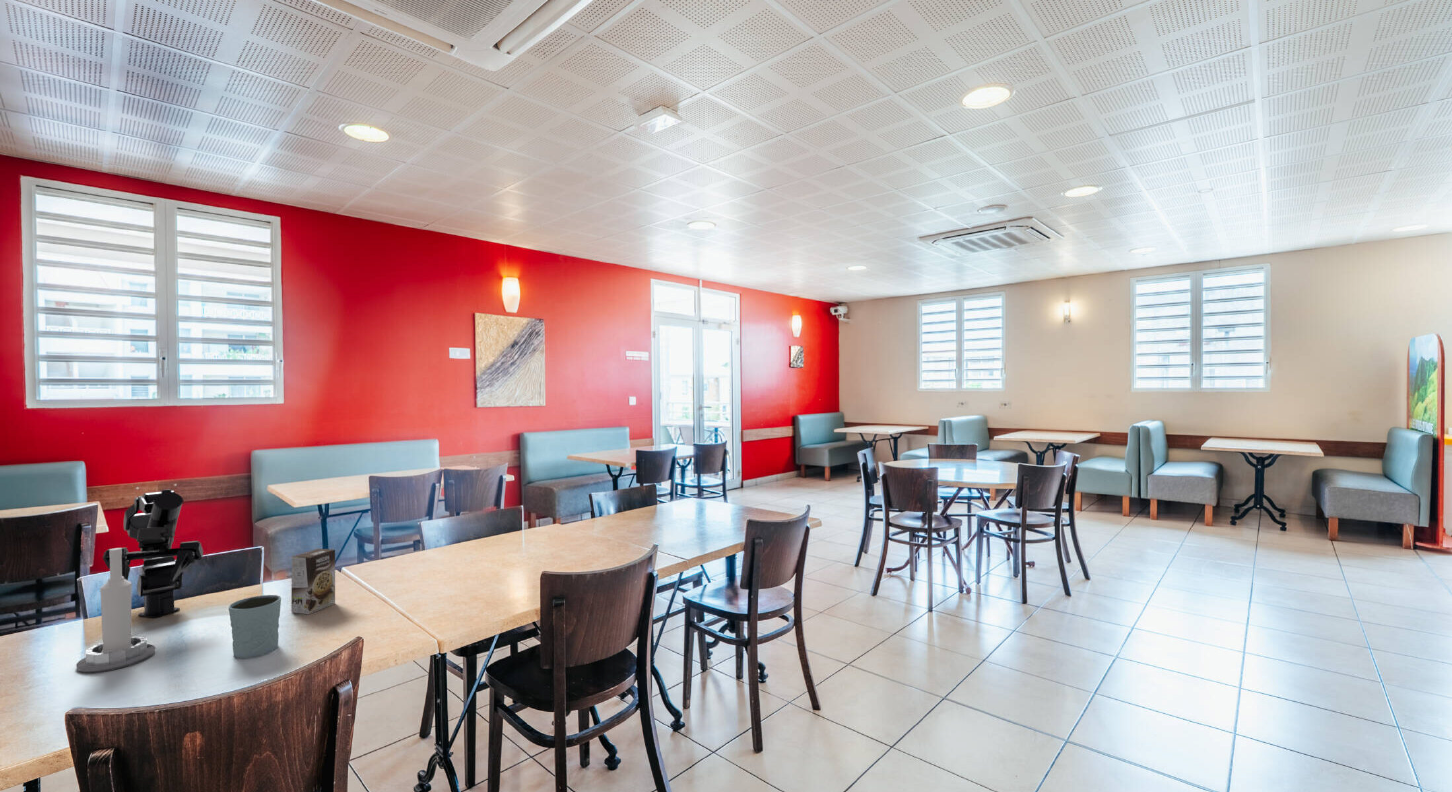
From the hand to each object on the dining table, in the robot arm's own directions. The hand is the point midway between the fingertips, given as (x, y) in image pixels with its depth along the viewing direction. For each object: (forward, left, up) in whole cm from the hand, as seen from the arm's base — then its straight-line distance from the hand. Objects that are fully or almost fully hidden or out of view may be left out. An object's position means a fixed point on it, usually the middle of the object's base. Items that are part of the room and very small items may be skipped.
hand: (148, 583), depth 155 cm
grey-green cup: (+34, 0, -14) cm, 37 cm away
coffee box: (+23, +26, -14) cm, 38 cm away
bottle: (+8, -12, -13) cm, 19 cm away
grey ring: (+8, -12, -13) cm, 20 cm away
